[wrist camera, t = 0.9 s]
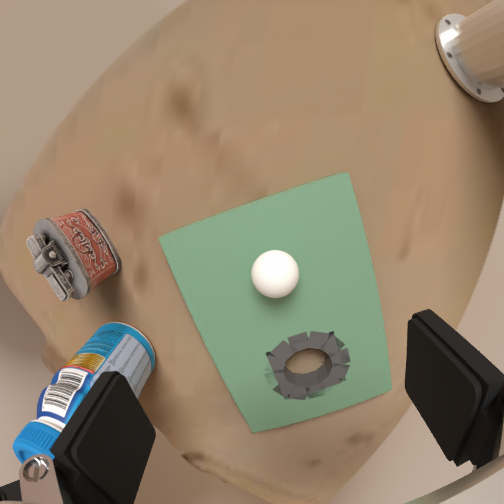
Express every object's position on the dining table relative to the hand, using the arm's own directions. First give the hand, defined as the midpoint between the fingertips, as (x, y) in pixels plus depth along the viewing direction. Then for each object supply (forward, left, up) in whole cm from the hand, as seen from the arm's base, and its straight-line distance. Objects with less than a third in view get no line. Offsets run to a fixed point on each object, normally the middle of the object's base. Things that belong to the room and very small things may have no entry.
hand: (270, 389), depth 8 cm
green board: (-1, +9, -21) cm, 23 cm away
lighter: (+16, -6, -21) cm, 28 cm away
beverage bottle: (+19, +7, -21) cm, 30 cm away
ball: (-1, +2, -17) cm, 17 cm away
